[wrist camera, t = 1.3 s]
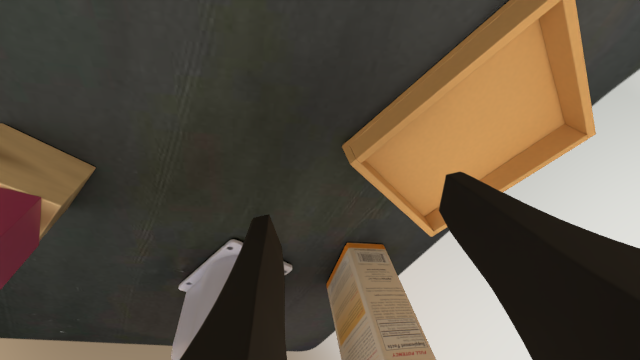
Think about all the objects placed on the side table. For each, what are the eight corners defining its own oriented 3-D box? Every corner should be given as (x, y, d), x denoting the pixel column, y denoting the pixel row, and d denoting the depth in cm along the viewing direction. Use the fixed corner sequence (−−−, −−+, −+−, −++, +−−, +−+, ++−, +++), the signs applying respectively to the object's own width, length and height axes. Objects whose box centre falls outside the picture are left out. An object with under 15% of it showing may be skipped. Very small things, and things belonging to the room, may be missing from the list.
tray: (419, 218, 27) (431, 237, 25) (341, 145, 20) (349, 164, 18) (566, 120, 22) (596, 134, 20) (532, -21, 15) (573, -21, 13)
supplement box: (359, 283, 34) (400, 416, 23) (324, 283, 32) (352, 424, 22) (385, 242, 29) (450, 384, 19) (346, 240, 28) (394, 392, 17)
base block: (67, 208, 20) (30, 251, 16) (-24, 174, 17) (-89, 217, 14) (97, 167, 18) (61, 206, 15) (1, 122, 15) (-67, 158, 12)
